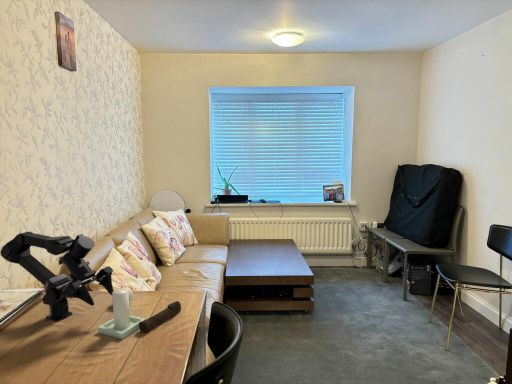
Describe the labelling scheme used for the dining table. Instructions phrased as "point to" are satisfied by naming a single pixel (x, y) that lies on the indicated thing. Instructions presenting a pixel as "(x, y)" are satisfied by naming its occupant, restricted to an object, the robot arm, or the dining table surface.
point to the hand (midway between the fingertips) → (103, 299)
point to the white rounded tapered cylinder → (121, 309)
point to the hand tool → (160, 317)
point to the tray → (120, 334)
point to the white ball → (129, 293)
